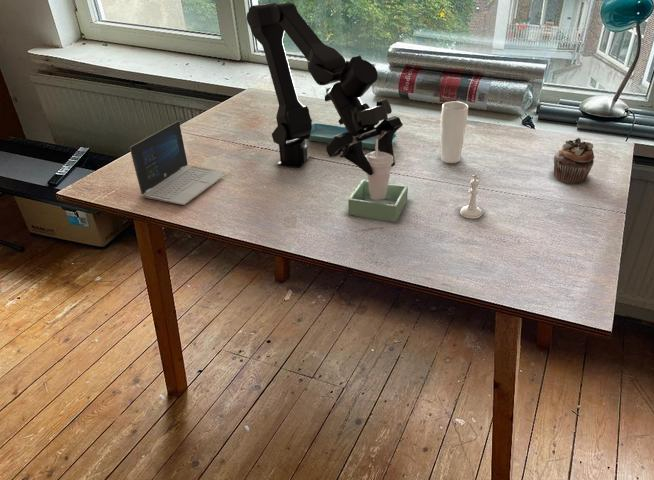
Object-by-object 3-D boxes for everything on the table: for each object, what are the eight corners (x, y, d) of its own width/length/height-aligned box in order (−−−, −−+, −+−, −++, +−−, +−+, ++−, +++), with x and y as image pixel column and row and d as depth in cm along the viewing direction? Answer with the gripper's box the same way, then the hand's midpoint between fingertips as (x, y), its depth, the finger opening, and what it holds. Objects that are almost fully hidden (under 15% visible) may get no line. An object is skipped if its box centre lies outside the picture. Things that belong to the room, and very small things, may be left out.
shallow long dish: (398, 140, 165) (398, 132, 163) (389, 153, 158) (389, 144, 156) (314, 130, 171) (313, 122, 170) (302, 141, 164) (301, 133, 163)
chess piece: (476, 220, 128) (482, 180, 122) (456, 214, 130) (460, 175, 124) (485, 211, 131) (490, 171, 125) (465, 205, 133) (470, 166, 127)
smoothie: (363, 190, 133) (363, 133, 125) (390, 189, 134) (392, 132, 126) (365, 203, 128) (365, 145, 120) (393, 202, 129) (395, 144, 120)
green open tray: (348, 214, 130) (348, 199, 128) (362, 194, 138) (362, 179, 136) (395, 222, 127) (396, 206, 125) (407, 201, 135) (407, 186, 133)
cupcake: (595, 176, 145) (605, 139, 140) (578, 189, 140) (587, 151, 134) (561, 165, 151) (569, 129, 145) (543, 177, 145) (550, 140, 139)
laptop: (184, 207, 133) (173, 155, 126) (141, 197, 137) (128, 146, 130) (227, 175, 147) (219, 127, 139) (187, 167, 151) (177, 120, 143)
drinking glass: (462, 166, 151) (467, 110, 142) (436, 164, 152) (440, 109, 143) (463, 155, 156) (469, 101, 147) (438, 153, 157) (443, 100, 148)
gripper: (332, 99, 114) (369, 167, 114) (399, 79, 124) (432, 142, 124) (311, 125, 124) (344, 188, 124) (374, 105, 134) (405, 163, 134)
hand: (382, 170), depth 126 cm, fingers closed on smoothie, 6 cm apart
